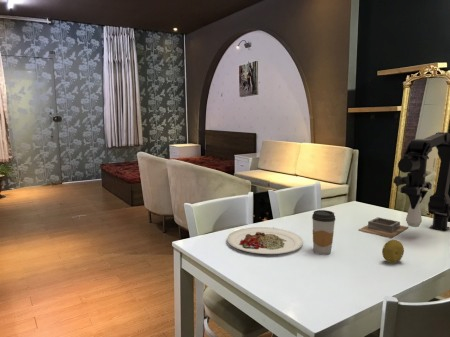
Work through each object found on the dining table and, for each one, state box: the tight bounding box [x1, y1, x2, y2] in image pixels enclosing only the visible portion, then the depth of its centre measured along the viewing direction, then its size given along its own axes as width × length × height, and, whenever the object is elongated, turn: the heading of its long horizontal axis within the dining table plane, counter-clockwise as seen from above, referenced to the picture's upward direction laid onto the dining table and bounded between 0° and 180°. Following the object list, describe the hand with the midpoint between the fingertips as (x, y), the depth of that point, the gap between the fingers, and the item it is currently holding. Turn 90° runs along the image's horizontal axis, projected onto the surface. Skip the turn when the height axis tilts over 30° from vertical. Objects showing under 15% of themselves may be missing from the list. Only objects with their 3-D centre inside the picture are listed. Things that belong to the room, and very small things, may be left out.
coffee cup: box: [311, 209, 336, 256], centre depth 132 cm, size 8×8×15 cm
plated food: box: [226, 226, 304, 255], centre depth 142 cm, size 30×30×3 cm
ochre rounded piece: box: [381, 239, 405, 264], centre depth 123 cm, size 8×4×8 cm, turn 110°
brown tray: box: [358, 217, 409, 239], centre depth 160 cm, size 20×14×4 cm
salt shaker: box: [405, 197, 423, 228], centre depth 147 cm, size 6×6×13 cm
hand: (414, 208), depth 147 cm, fingers closed on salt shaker, 4 cm apart
